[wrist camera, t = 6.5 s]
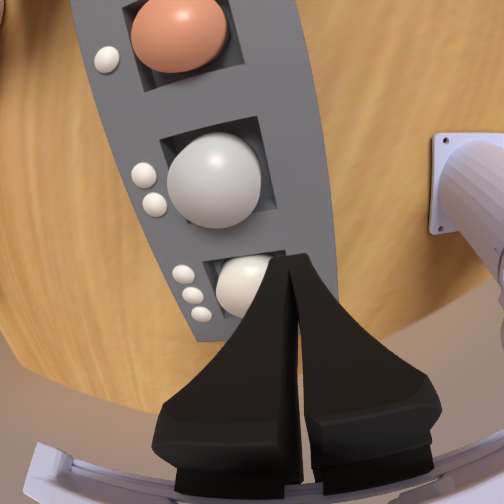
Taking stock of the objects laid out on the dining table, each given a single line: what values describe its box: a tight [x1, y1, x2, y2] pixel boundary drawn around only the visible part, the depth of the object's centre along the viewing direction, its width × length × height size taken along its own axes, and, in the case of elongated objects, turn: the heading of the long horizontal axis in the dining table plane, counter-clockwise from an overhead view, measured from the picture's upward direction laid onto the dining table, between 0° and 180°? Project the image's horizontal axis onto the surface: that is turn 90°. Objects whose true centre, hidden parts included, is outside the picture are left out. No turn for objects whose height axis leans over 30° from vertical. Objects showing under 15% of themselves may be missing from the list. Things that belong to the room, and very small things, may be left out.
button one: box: [131, 0, 230, 73], centre depth 12 cm, size 5×5×2 cm
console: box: [70, 0, 339, 342], centre depth 18 cm, size 12×28×3 cm, turn 12°
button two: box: [167, 132, 262, 228], centre depth 16 cm, size 5×5×2 cm
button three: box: [216, 252, 276, 318], centre depth 22 cm, size 5×5×2 cm
